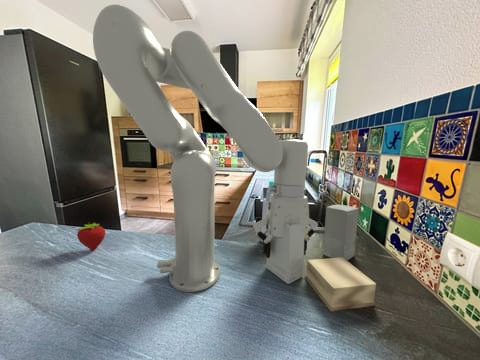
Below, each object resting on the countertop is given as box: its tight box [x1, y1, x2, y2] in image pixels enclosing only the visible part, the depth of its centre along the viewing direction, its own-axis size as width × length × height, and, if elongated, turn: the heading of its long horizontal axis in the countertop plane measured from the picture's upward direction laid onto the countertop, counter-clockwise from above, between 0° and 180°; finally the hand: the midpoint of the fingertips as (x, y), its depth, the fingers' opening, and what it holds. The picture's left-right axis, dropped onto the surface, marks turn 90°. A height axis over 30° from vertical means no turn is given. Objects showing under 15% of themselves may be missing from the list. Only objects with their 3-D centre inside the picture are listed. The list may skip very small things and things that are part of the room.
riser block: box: [304, 257, 377, 312], centre depth 44 cm, size 10×10×5 cm
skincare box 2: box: [322, 203, 359, 261], centre depth 58 cm, size 8×7×16 cm
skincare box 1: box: [266, 223, 305, 285], centre depth 49 cm, size 8×6×15 cm
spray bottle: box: [260, 180, 274, 243], centre depth 65 cm, size 6×6×22 cm
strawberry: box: [76, 222, 107, 251], centre depth 57 cm, size 6×8×10 cm
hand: (284, 253), depth 49 cm, fingers open, 9 cm apart
